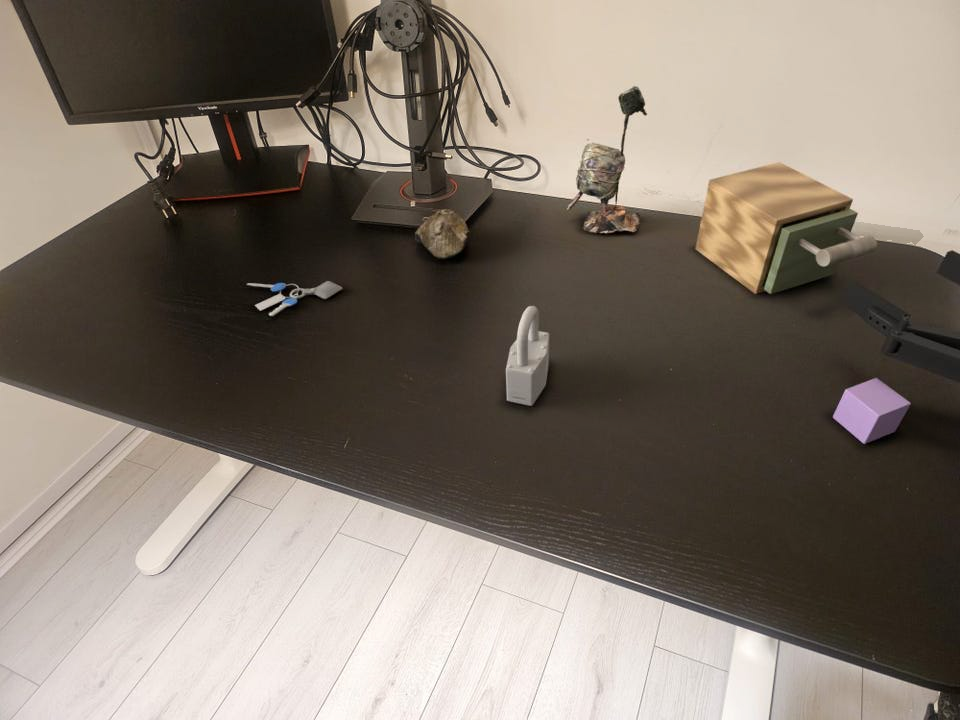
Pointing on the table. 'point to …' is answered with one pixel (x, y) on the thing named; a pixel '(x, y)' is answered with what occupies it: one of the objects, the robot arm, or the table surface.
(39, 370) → the table surface
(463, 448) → the table surface
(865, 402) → the purple block
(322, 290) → the key chain
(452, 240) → the fossilized seashell
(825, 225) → the pull-out drawer
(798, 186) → the wooden drawer box
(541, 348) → the padlock
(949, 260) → the robot arm
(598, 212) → the metal wire sculpture
